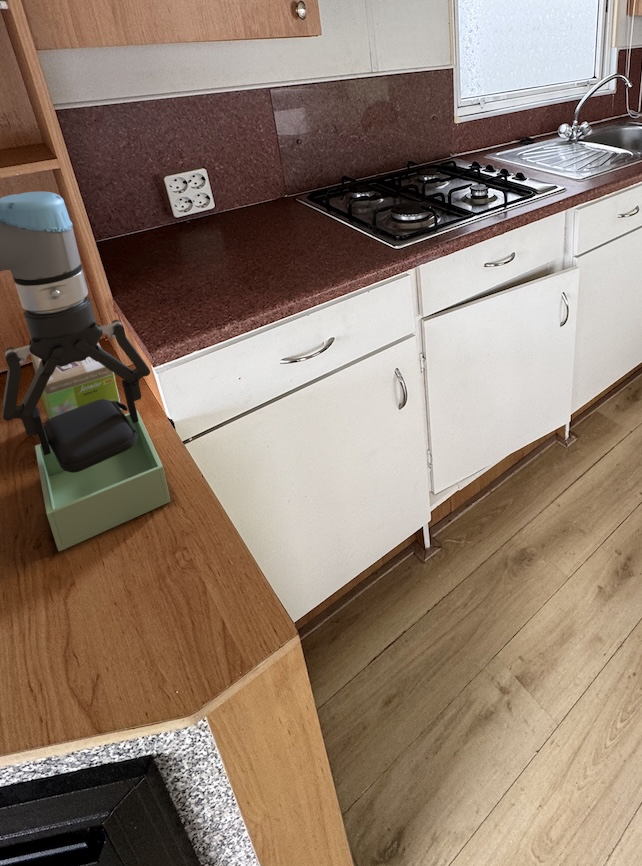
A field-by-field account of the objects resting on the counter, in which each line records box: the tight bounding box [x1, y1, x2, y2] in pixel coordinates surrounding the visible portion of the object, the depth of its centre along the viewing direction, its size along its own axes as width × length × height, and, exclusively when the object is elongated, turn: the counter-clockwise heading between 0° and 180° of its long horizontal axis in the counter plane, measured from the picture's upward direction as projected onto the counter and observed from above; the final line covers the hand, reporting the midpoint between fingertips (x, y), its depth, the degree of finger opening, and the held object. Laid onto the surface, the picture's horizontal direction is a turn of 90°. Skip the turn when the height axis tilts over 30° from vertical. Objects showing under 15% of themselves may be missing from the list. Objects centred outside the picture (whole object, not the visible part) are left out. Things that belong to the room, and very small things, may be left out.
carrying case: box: [43, 399, 138, 473], centre depth 88 cm, size 11×3×15 cm
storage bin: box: [34, 409, 171, 553], centre depth 90 cm, size 14×18×7 cm
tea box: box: [30, 342, 123, 421], centre depth 103 cm, size 15×10×15 cm, turn 44°
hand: (92, 433), depth 88 cm, fingers closed on carrying case, 10 cm apart
